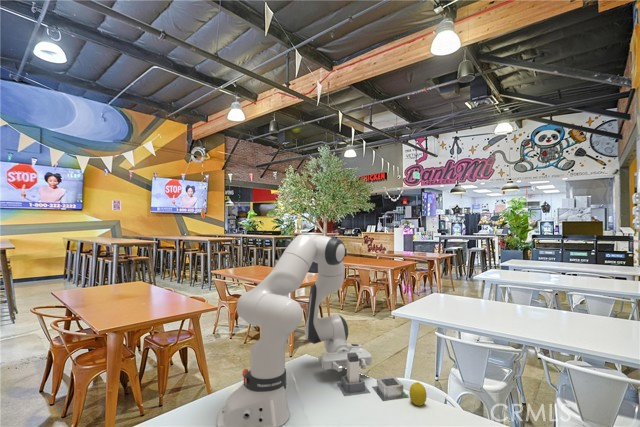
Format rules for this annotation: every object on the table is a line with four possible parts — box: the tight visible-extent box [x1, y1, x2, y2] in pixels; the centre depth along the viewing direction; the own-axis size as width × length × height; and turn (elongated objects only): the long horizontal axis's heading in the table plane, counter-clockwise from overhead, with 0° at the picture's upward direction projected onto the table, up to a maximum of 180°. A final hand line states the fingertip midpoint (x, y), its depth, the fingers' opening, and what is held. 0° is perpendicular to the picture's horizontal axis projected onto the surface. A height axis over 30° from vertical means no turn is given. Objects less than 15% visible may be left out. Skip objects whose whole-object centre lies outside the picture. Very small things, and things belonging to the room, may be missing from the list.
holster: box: [336, 374, 371, 397], centre depth 118 cm, size 10×10×4 cm
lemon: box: [408, 381, 427, 407], centre depth 107 cm, size 6×6×8 cm
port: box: [371, 376, 410, 402], centre depth 114 cm, size 10×10×4 cm
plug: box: [346, 353, 360, 383], centre depth 118 cm, size 4×4×12 cm
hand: (352, 368), depth 118 cm, fingers open, 8 cm apart
